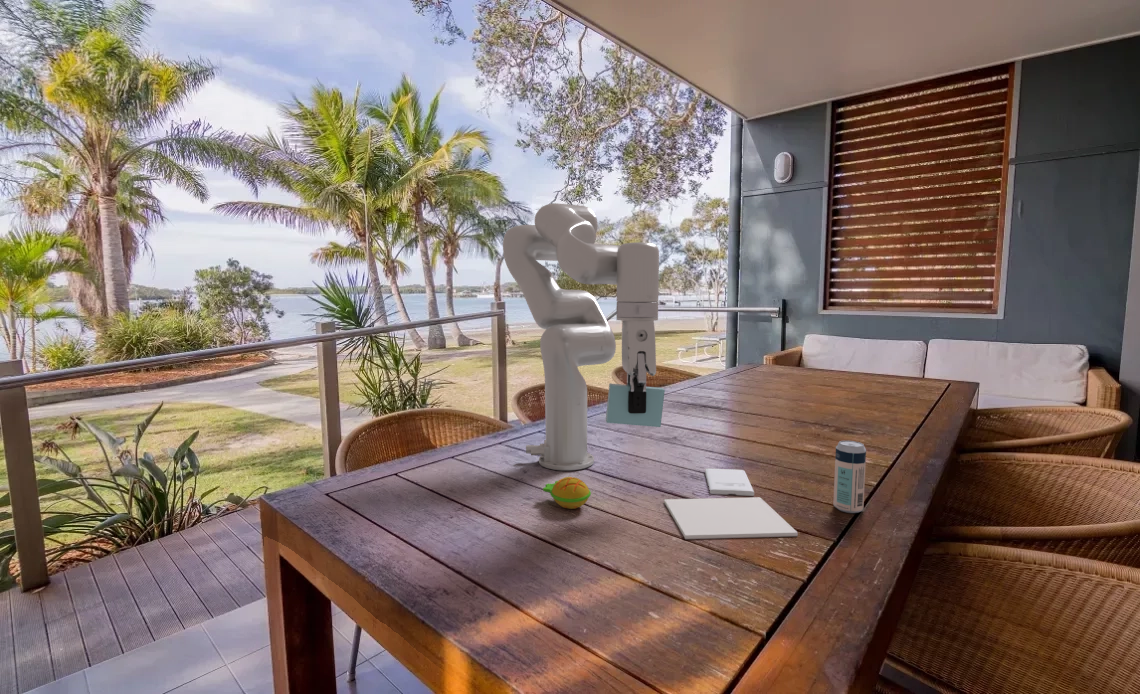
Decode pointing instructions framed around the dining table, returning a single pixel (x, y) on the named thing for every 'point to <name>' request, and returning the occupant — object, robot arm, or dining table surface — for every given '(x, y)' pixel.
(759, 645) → the dining table surface
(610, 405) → the tile
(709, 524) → the mat
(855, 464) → the beer can
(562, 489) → the yellow green rounded piece
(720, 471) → the external hard drive
